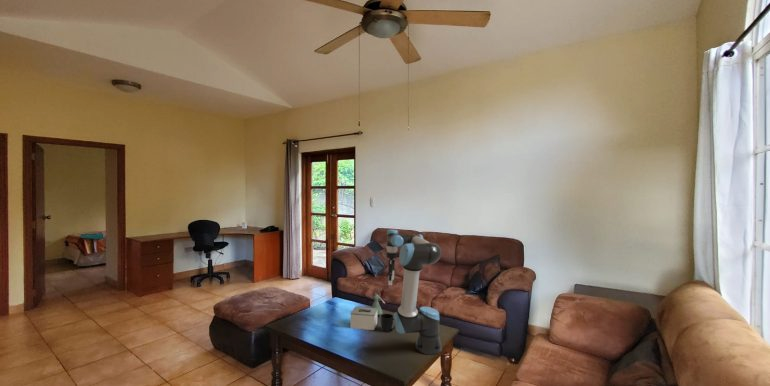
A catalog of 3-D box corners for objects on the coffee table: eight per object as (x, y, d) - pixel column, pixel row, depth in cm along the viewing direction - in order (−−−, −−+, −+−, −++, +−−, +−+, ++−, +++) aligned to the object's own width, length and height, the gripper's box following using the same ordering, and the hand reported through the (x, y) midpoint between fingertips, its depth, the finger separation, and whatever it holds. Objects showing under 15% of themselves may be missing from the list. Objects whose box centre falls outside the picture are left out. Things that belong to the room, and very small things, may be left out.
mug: (393, 335, 205) (394, 320, 205) (378, 331, 211) (378, 316, 211) (400, 331, 212) (400, 316, 212) (384, 326, 218) (385, 312, 218)
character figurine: (362, 315, 236) (363, 291, 236) (367, 311, 244) (368, 288, 243) (382, 319, 229) (382, 294, 229) (386, 315, 237) (387, 291, 237)
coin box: (377, 322, 224) (377, 308, 224) (373, 330, 212) (374, 315, 212) (354, 320, 227) (355, 306, 226) (350, 328, 215) (350, 313, 215)
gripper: (388, 248, 238) (387, 277, 238) (384, 255, 213) (383, 287, 213) (398, 249, 237) (398, 277, 237) (395, 255, 212) (394, 287, 212)
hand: (391, 282), depth 225 cm, fingers open, 13 cm apart
